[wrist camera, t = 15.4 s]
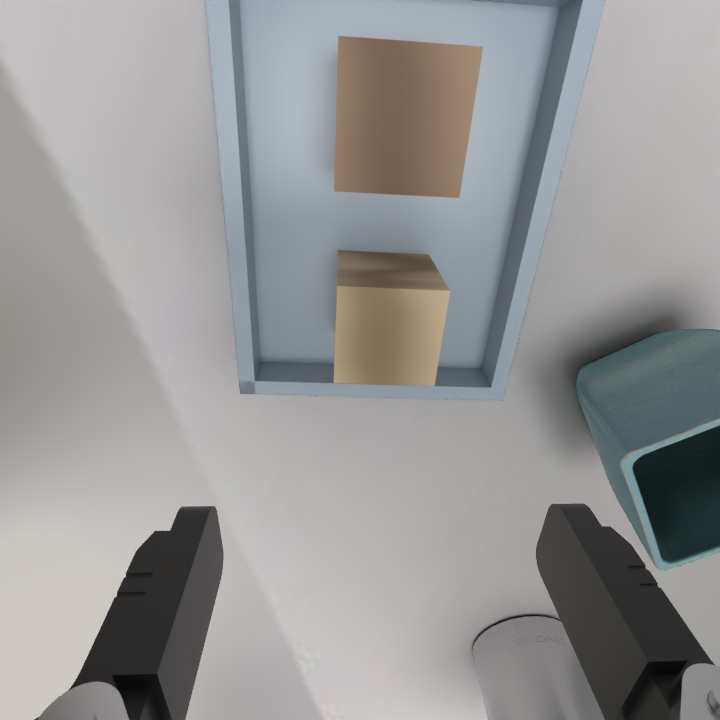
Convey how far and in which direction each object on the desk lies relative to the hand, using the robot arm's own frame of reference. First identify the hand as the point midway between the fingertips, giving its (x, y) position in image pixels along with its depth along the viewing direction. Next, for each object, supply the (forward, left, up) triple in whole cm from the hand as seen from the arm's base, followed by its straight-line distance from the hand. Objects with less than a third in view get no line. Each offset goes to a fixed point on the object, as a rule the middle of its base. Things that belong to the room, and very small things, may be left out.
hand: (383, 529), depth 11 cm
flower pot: (-5, -17, -16) cm, 23 cm away
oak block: (0, -1, -14) cm, 14 cm away
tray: (+4, -1, -15) cm, 16 cm away
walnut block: (+8, -1, -14) cm, 17 cm away
